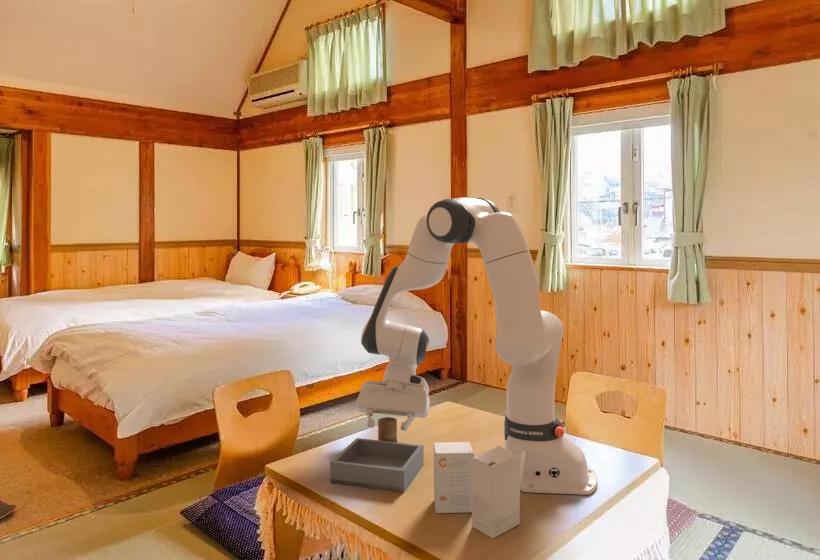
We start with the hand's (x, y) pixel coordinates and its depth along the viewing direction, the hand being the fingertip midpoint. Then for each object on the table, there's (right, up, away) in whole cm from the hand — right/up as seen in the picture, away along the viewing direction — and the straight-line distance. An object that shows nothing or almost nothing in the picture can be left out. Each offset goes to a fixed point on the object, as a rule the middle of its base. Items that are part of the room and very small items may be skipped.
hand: (386, 428), depth 154 cm
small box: (+15, -9, -31) cm, 36 cm away
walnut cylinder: (0, -6, +1) cm, 6 cm away
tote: (-1, -7, -14) cm, 16 cm away
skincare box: (+23, -10, -39) cm, 47 cm away
